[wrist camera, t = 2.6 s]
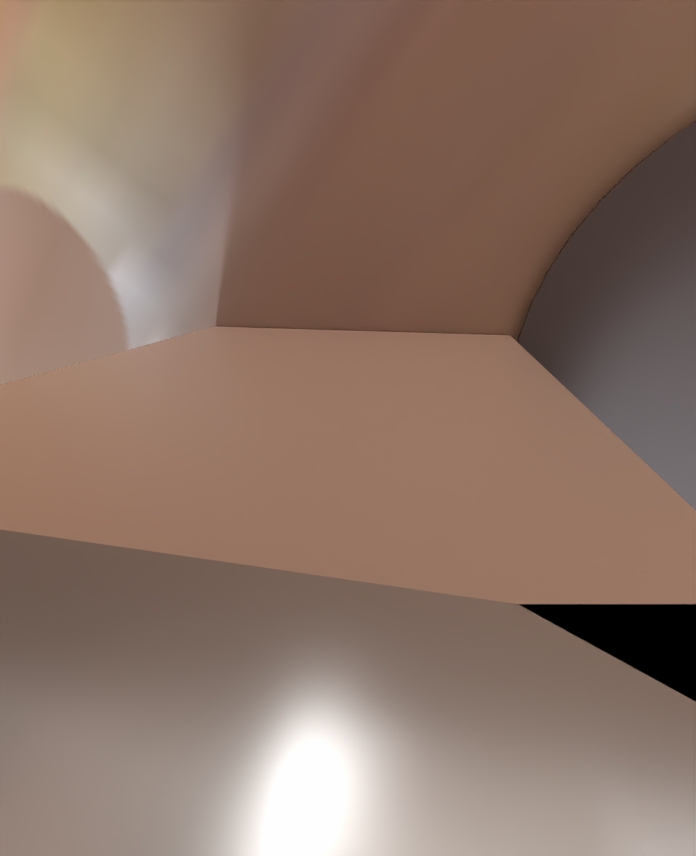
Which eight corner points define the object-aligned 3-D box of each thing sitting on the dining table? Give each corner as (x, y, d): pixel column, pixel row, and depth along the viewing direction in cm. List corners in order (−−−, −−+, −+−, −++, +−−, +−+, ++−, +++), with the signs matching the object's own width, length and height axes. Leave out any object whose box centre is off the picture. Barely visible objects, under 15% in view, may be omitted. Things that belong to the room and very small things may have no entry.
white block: (241, 554, 14) (-18, 939, 6) (214, 326, 11) (-346, 479, 3) (473, 587, 13) (537, 1146, 5) (510, 335, 10) (846, 651, 2)
